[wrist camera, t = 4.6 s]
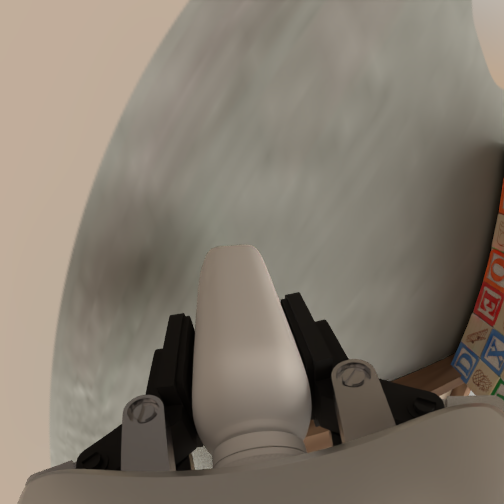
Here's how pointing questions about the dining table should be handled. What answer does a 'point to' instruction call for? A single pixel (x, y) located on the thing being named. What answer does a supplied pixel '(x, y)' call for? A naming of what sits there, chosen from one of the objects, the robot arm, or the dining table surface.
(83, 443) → the dining table surface
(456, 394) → the divided wooden tray
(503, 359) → the stack of blocks
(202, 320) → the eye dropper bottle
